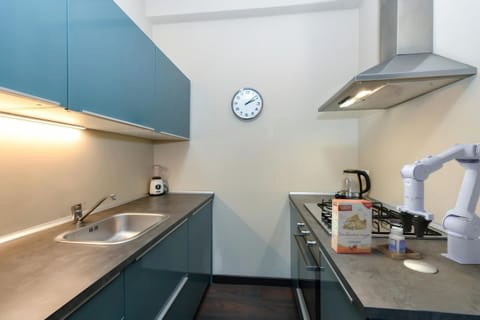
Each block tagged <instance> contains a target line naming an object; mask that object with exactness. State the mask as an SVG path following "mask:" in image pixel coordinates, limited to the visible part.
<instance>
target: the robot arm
mask: <svg viewBox="0 0 480 320" xmlns="http://www.w3.org/2000/svg"><path fill="white" fill-rule="evenodd" d="M453 160H455V162H457V163H458V164H459V165H460V166H461V167H464V168H465V173H464V176H463V179H462V182H461V183H462V184H461V185H460V190H459V193H458V196H457V199H456V204H455V206H454V208H451V209H449V210H447V211H446V214H445V216H444V217H443V218H442V220H441V227H442V229H443V230H444V231H445V234H447V250H446V251H447V253H440V255H441V256H443V257H445V258H447V259H450V260H452V261H454V262H456V263H458V264H460V265H474V264H475V265H479V264H480V238H479V237H480V216H479V215H477V214H476V213H475V212H476V209H477V206H478V202H479V198H480V142H474V143H473V142H471V143H469V142H468V143H455V144H453V145H450V146H449V148H447V149H446V150H444V151H442V152H440V153H439V154H437V155H432V154H431V155H430V154H426V155H425V156H424V158H422V159H420V160H415V161H414V163H412V164H411V163H410V164H409V163H407V164H405V165H403V166H402V168H401V171H399V175H400V177H401V179H402V183H403V187H404V188H403V205H396V211H399V212H397V213H396V214H397V216H398V217H399V219H400V222H401V225H402V230H403V233H412V229H413V225H414V232H415V237H416V238H417V239H418V238H419V239H421V238H422V239H423V238H424V236H425V234H426V231H427V230H428V228H429V226H430V224H431V223H432V222H433V221H434V220H435V214H433V213H431V212H430V211H429V212H428V211H426V210H425V181H427V180H428V178H429V177H430V175H431V174H433V173H435V172H437V171H439V170H441V169H442V168H443V166H444V164H446V163H449V162H450V161H453Z"/></svg>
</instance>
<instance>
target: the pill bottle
mask: <svg viewBox="0 0 480 320" xmlns="http://www.w3.org/2000/svg"><path fill="white" fill-rule="evenodd" d="M403 234H404V229H402V228H401V229H400V228H398V227H397V228H396V227H395V228H394V227H392V228H390V233H388V244H389V248H388V250H389V251H390V252H392V253H394V254H406V252H405V247H406V238H405V235H403Z"/></svg>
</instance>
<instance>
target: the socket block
mask: <svg viewBox="0 0 480 320" xmlns="http://www.w3.org/2000/svg"><path fill="white" fill-rule="evenodd" d="M374 247H375V249H377V250H378V251H380V252H381V253H383V254H384V255H385V256H387V257H389V258H390V259H391V260H397V261H398V260H422V254H421V253H419V252H417V251H415V250H413V249H411V248H409V247H407V246H405V254H394V253H392V252H390V251H389V243H375V245H374Z"/></svg>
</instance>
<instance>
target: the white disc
mask: <svg viewBox="0 0 480 320" xmlns="http://www.w3.org/2000/svg"><path fill="white" fill-rule="evenodd" d="M403 265H404V267H407V268H408V269H410V270H413V271H416V272H418V273H423V274H435V273H437V271H438V269H437V267H435V266H434V265H432V264H431V263H428V262H426V261H422V260H419V259H404V261H403Z"/></svg>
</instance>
